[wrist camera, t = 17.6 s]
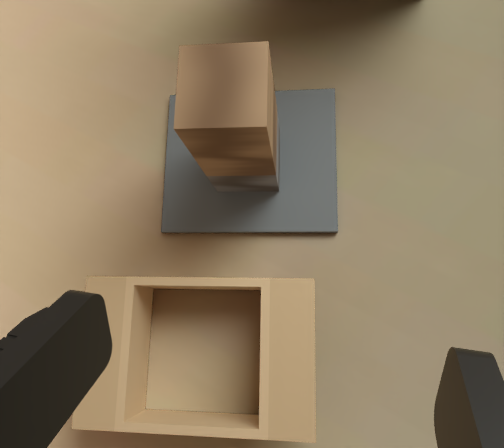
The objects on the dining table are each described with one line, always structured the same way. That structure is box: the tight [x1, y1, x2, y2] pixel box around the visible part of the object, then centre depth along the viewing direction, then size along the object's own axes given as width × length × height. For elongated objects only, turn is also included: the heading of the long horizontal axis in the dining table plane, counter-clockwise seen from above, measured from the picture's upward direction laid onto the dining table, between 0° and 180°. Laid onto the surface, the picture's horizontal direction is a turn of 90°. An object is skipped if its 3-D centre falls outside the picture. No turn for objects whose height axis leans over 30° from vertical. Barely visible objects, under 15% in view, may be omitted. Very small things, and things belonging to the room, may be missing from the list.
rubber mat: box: [161, 89, 338, 233], centre depth 35 cm, size 14×12×1 cm
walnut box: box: [174, 41, 280, 192], centre depth 29 cm, size 5×5×12 cm
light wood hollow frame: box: [71, 276, 316, 443], centre depth 31 cm, size 16×10×4 cm, turn 89°
